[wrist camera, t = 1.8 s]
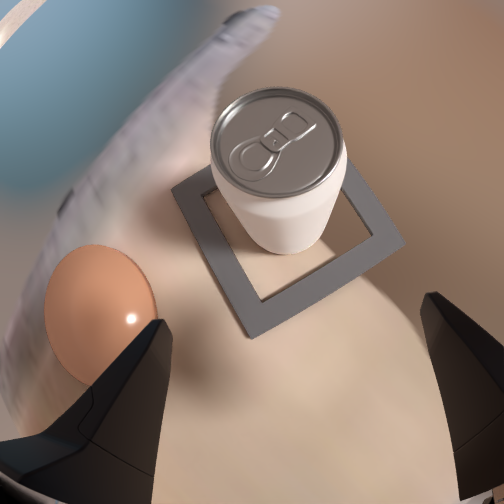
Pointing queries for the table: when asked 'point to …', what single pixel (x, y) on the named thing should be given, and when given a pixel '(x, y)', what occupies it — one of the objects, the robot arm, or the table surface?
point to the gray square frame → (308, 289)
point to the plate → (95, 309)
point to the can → (279, 165)
